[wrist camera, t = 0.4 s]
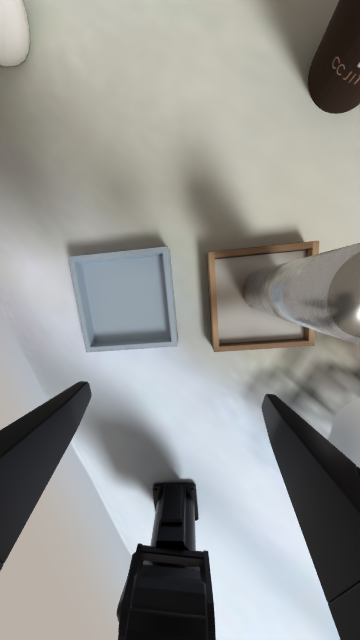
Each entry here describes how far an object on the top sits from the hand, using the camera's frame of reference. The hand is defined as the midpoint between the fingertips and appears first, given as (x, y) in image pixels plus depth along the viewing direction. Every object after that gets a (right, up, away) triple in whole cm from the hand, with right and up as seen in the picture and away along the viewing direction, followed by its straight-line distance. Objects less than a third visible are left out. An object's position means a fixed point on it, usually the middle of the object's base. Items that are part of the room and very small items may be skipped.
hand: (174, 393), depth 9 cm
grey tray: (-6, +6, +13) cm, 16 cm away
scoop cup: (+10, +7, +11) cm, 16 cm away
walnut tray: (+9, +6, +12) cm, 17 cm away
